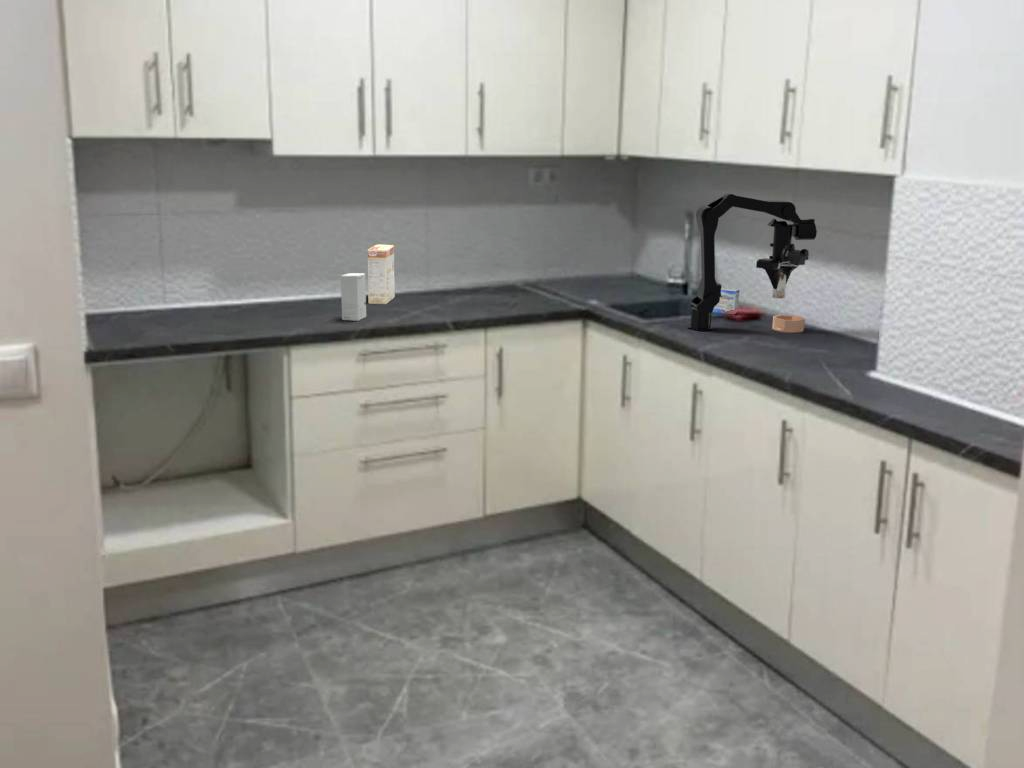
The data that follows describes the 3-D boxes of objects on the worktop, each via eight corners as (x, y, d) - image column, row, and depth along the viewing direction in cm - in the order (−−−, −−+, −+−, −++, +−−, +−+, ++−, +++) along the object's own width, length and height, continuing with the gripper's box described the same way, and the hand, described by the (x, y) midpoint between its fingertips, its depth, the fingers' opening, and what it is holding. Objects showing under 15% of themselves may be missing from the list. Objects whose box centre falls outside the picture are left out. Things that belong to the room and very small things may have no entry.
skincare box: (358, 321, 339) (357, 276, 335) (340, 320, 340) (340, 275, 337) (366, 316, 347) (366, 272, 343) (349, 315, 348) (349, 271, 345)
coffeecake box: (376, 296, 386) (376, 244, 381) (395, 297, 385) (395, 244, 380) (367, 303, 371) (366, 249, 367) (386, 304, 371) (386, 249, 366)
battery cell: (779, 298, 337) (781, 273, 335) (769, 297, 340) (771, 271, 338) (787, 297, 340) (789, 271, 338) (777, 295, 343) (778, 270, 341)
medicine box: (712, 313, 369) (714, 289, 367) (716, 311, 373) (718, 287, 371) (734, 315, 366) (736, 291, 363) (737, 313, 369) (739, 289, 367)
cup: (791, 333, 336) (792, 321, 335) (766, 328, 343) (767, 316, 342) (809, 330, 342) (810, 318, 341) (784, 325, 349) (785, 313, 348)
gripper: (785, 244, 324) (782, 294, 328) (820, 240, 335) (817, 288, 339) (756, 241, 332) (753, 290, 336) (791, 237, 344) (788, 284, 347)
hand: (779, 288), depth 339 cm, fingers closed on battery cell, 4 cm apart
